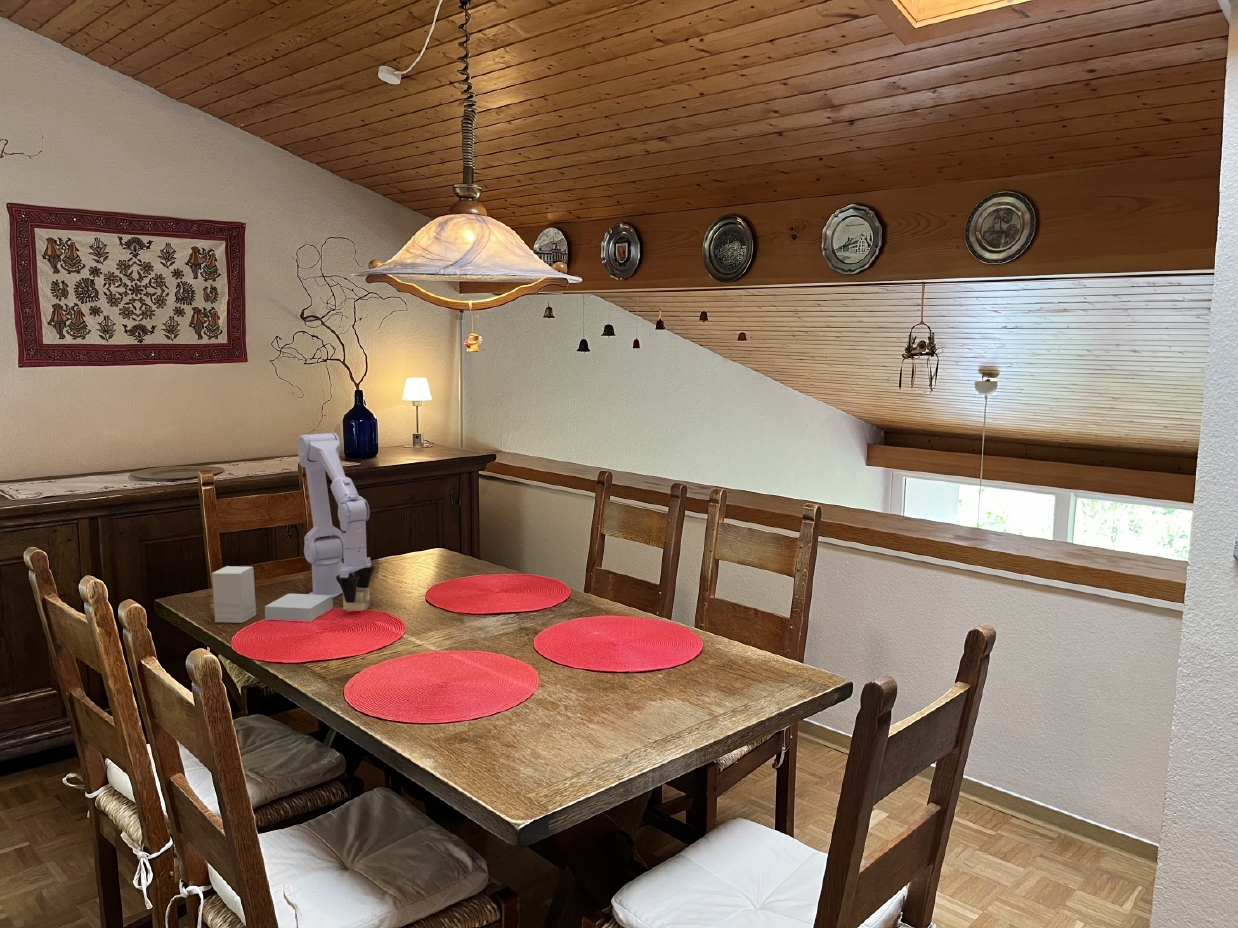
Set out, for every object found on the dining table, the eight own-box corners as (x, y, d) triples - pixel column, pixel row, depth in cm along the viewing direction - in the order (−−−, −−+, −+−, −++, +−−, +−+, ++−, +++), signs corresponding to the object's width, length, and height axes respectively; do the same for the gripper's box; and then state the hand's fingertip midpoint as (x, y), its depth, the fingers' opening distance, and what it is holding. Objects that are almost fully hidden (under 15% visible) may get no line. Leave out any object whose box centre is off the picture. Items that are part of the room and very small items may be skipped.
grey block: (289, 608, 239) (288, 593, 238) (332, 610, 237) (332, 595, 236) (265, 621, 227) (264, 606, 226) (311, 624, 225) (310, 608, 225)
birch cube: (351, 605, 240) (351, 587, 239) (369, 606, 239) (369, 588, 239) (343, 611, 235) (342, 592, 234) (361, 612, 234) (361, 593, 234)
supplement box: (257, 614, 231) (254, 566, 230) (242, 623, 224) (239, 573, 222) (229, 613, 232) (226, 565, 230) (213, 622, 225) (210, 572, 223)
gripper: (357, 553, 227) (359, 606, 229) (380, 541, 242) (382, 591, 243) (330, 552, 228) (332, 605, 230) (355, 540, 243) (357, 590, 244)
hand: (356, 598), depth 237 cm, fingers open, 7 cm apart
